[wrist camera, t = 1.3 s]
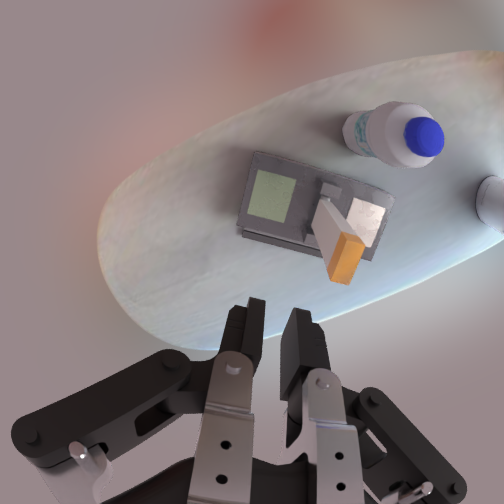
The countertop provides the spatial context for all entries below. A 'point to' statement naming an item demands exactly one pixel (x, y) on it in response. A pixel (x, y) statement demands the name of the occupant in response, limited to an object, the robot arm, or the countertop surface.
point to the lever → (336, 242)
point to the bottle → (395, 134)
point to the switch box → (309, 201)
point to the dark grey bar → (281, 242)
